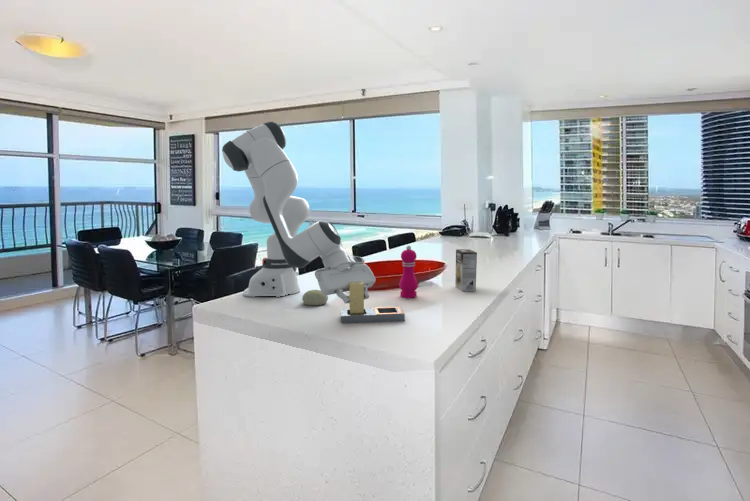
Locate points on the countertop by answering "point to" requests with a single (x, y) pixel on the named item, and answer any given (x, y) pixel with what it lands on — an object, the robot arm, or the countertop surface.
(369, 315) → the grey slotted board
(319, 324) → the countertop surface
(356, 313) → the brass block
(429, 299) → the countertop surface
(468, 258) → the coffee box
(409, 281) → the pepper mill
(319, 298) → the sea urchin shell
